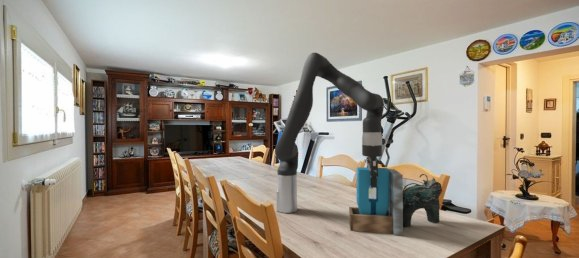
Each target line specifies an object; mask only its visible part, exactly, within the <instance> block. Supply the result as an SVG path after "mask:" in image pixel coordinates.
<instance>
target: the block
mask: <svg viewBox="0 0 579 258" xmlns="http://www.w3.org/2000/svg"><path fill="white" fill-rule="evenodd" d="M389 169H390V168H388V167H378V177H377V187H376V199H371V198H369V187H370V186H371V177H370V172H369V170H368V168H367V166H365V167H363V166H361V167H360V166H359V167H358V166H357V167H356V204H357V208H359V212H360V215H380V216H386V215H387V211H388V208H389V186H390V170H389ZM373 174H375V173H373Z"/></svg>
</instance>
